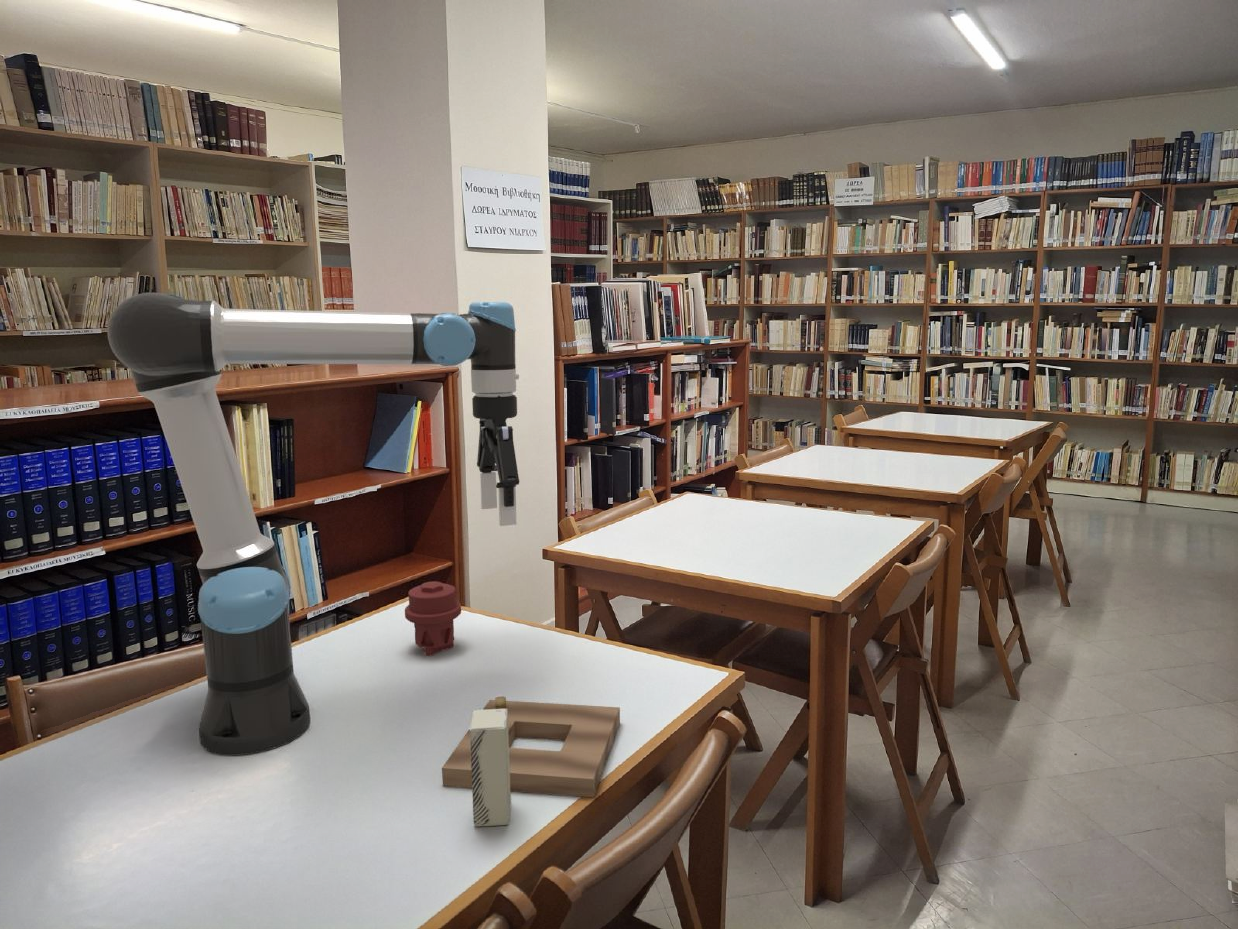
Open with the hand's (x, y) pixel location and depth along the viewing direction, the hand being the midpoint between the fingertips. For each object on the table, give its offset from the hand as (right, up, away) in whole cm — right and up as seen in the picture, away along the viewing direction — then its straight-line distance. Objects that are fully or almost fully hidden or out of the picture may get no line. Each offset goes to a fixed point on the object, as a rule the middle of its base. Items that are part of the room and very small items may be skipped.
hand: (498, 516), depth 149 cm
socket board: (+10, -31, -30) cm, 44 cm away
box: (+6, -34, -45) cm, 56 cm away
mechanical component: (-13, -25, +8) cm, 29 cm away
